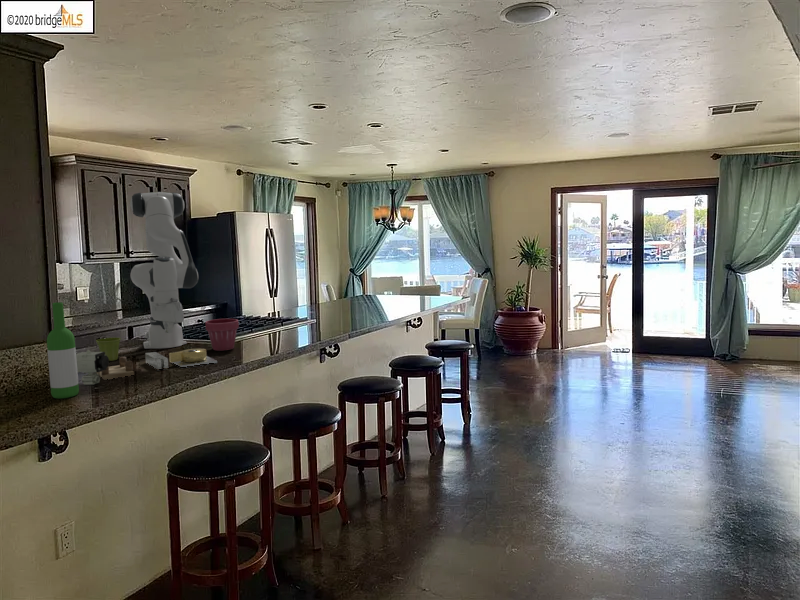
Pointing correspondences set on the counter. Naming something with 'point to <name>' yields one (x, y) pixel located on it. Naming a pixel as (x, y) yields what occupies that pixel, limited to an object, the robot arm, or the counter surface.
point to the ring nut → (188, 355)
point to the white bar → (156, 360)
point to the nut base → (185, 364)
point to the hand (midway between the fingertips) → (169, 332)
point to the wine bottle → (62, 357)
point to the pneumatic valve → (91, 365)
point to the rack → (118, 370)
